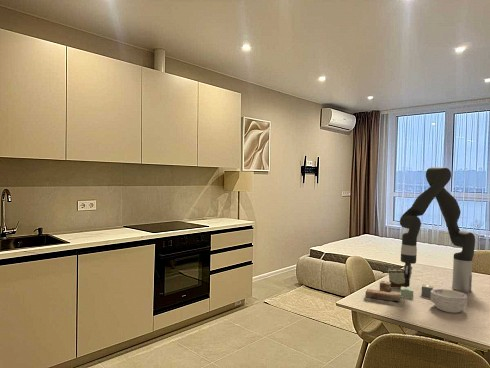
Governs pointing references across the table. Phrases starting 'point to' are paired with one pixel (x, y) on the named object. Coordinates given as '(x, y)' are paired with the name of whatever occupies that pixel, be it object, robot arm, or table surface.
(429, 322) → the table surface
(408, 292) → the plain sage block
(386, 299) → the packaged product
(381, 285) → the walnut striped block
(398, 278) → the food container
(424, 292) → the charcoal striped block
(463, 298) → the paper bowls
